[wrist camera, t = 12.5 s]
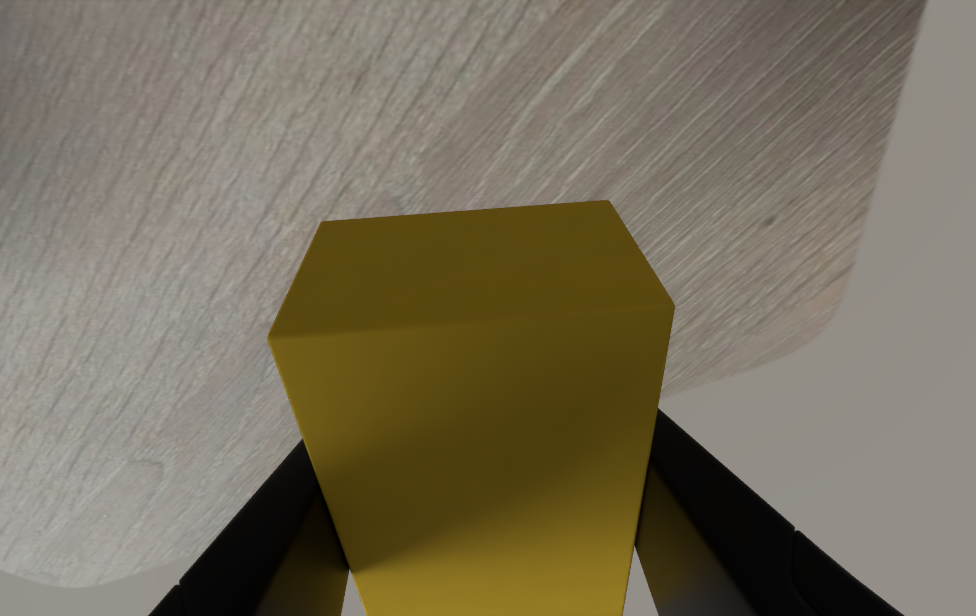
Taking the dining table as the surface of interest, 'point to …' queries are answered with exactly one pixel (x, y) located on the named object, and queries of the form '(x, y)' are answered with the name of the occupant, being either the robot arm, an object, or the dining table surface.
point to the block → (479, 404)
